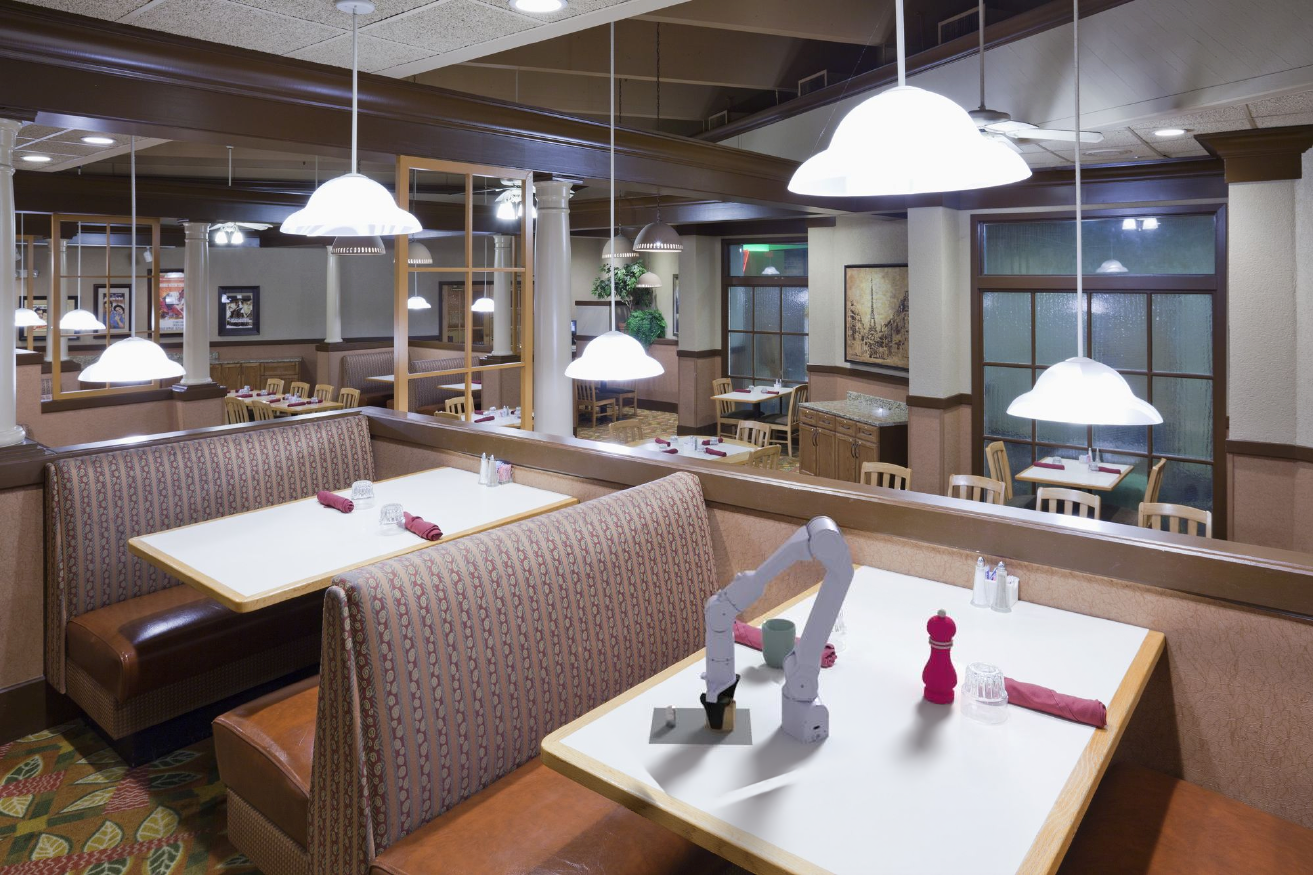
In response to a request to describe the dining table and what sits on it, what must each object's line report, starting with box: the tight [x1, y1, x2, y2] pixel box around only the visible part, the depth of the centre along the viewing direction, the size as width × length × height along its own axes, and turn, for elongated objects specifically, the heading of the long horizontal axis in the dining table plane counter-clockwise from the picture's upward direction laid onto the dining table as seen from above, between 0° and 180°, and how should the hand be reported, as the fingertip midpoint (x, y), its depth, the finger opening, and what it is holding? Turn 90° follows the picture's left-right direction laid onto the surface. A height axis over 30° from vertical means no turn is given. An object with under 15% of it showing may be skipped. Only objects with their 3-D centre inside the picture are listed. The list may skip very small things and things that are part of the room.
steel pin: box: [665, 705, 677, 728], centre depth 169 cm, size 2×2×4 cm
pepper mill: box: [921, 608, 958, 705], centre depth 179 cm, size 7×7×20 cm
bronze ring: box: [706, 696, 737, 733], centre depth 168 cm, size 6×6×5 cm
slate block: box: [648, 707, 753, 746], centre depth 169 cm, size 20×14×2 cm
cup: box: [761, 618, 797, 669], centre depth 198 cm, size 8×8×10 cm
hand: (721, 718), depth 169 cm, fingers open, 7 cm apart
